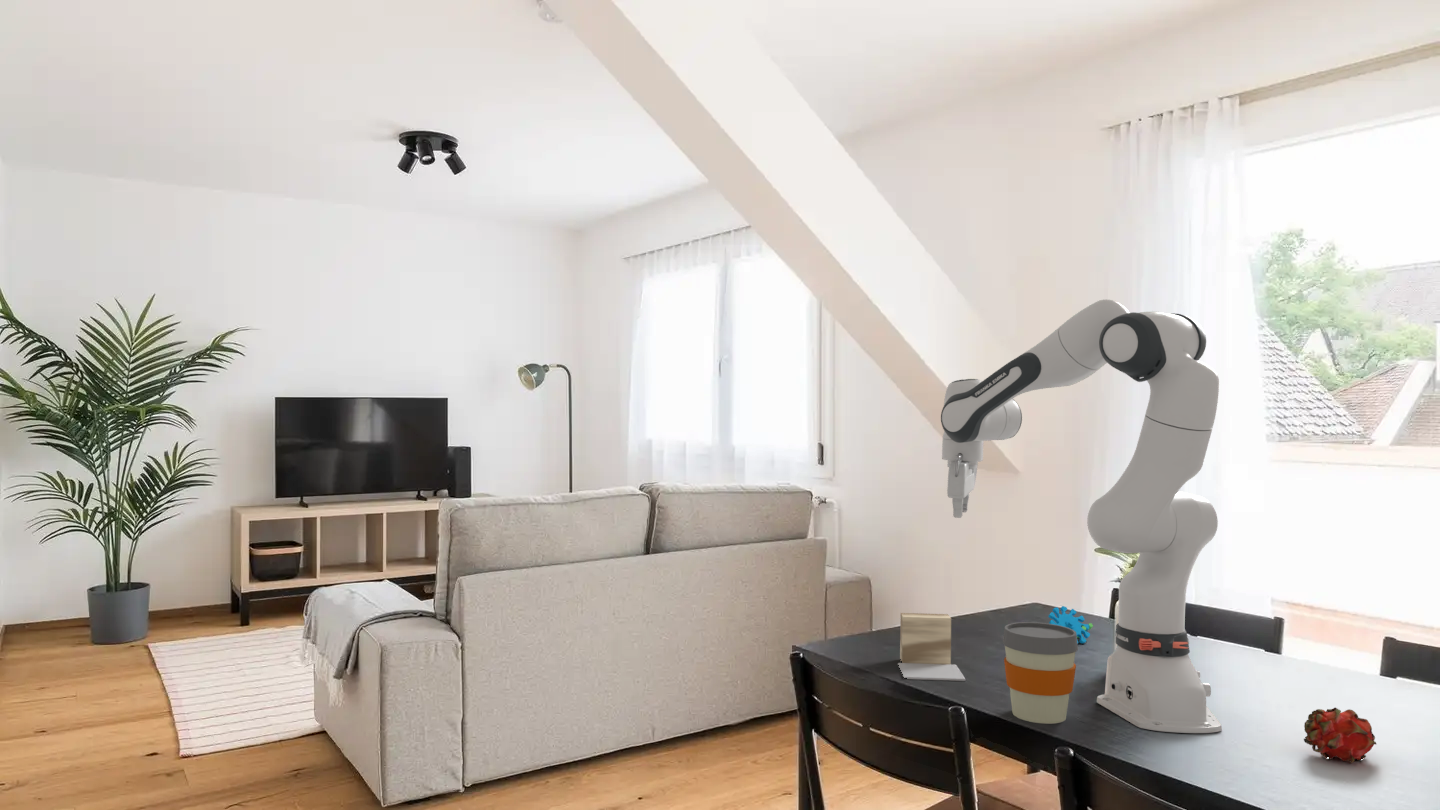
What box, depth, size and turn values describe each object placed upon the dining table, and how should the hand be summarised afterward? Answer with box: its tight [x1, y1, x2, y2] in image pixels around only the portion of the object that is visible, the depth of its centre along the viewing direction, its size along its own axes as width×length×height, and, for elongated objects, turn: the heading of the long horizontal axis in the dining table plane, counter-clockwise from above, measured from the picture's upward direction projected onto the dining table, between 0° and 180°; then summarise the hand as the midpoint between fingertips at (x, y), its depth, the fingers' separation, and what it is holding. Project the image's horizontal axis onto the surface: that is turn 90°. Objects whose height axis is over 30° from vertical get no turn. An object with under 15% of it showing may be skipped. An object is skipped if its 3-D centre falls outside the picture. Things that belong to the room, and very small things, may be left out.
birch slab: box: [899, 612, 952, 665], centre depth 202 cm, size 4×10×10 cm, turn 86°
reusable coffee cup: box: [1002, 621, 1079, 725], centre depth 168 cm, size 13×13×15 cm
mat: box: [897, 662, 967, 682], centre depth 194 cm, size 10×12×1 cm
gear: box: [1048, 605, 1094, 645], centre depth 224 cm, size 11×6×10 cm
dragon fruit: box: [1303, 707, 1377, 764], centre depth 149 cm, size 8×8×12 cm
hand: (960, 514), depth 211 cm, fingers open, 8 cm apart
